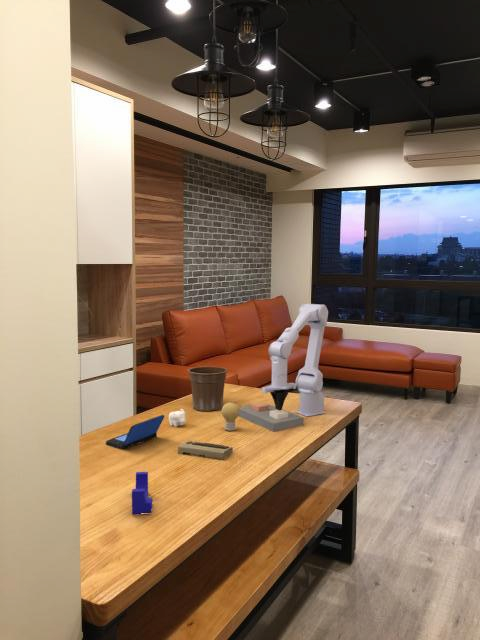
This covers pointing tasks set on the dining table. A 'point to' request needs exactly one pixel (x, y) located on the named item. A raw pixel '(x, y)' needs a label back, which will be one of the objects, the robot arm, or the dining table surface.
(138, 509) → the blue stepped block
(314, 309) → the robot arm
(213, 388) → the plant pot
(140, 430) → the handheld game console
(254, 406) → the terracotta key
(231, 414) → the light bulb
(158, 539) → the dining table surface
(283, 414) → the white key
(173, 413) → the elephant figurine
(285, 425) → the key console
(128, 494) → the dining table surface
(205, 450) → the computer
